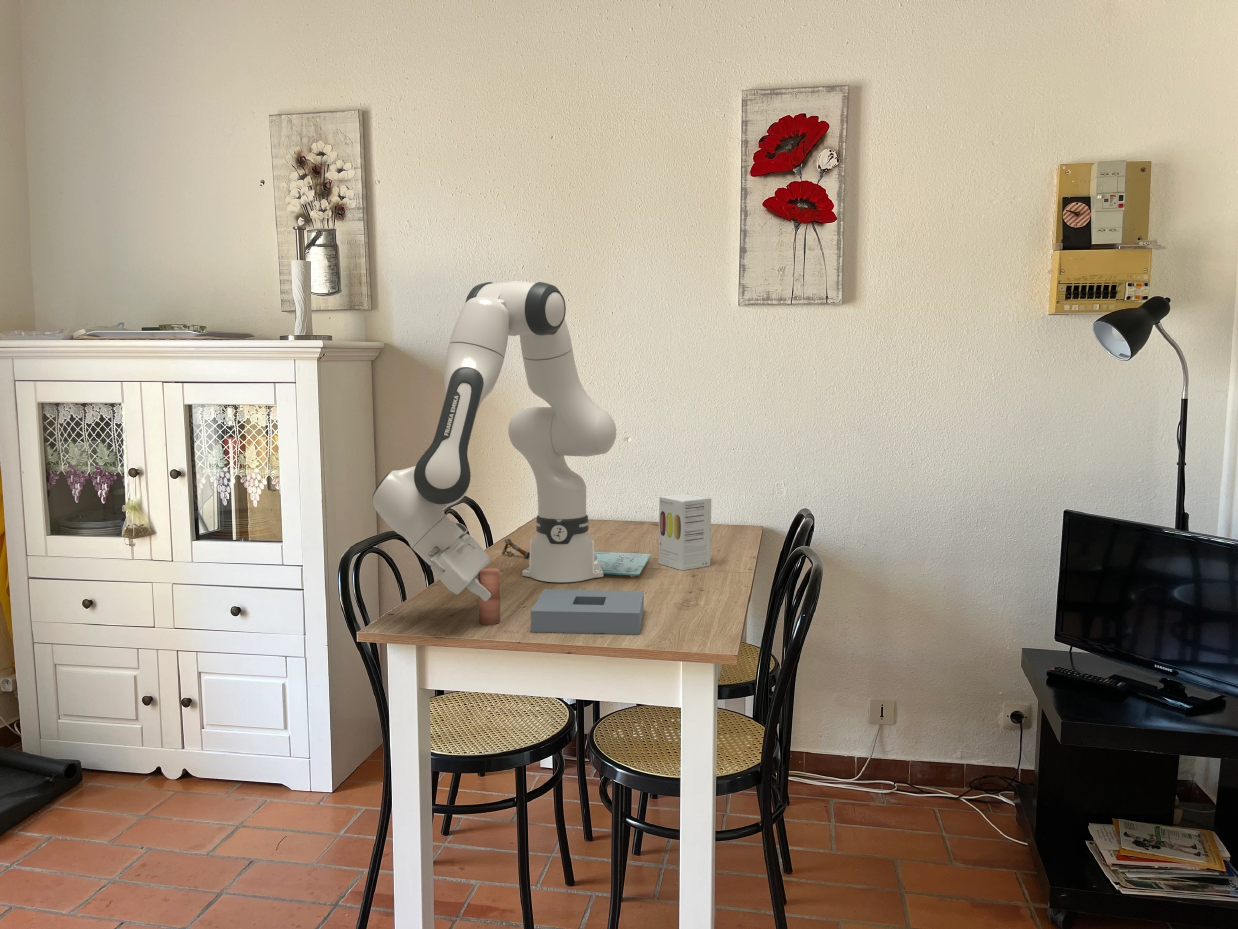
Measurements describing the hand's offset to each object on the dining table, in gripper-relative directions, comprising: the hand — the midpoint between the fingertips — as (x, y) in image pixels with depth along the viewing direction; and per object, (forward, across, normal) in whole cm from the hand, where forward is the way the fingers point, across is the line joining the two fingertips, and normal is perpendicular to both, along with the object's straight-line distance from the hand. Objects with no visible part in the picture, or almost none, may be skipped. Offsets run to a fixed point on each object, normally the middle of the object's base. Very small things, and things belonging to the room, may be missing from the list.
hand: (492, 594), depth 175 cm
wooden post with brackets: (0, +58, +9) cm, 59 cm away
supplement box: (+30, +52, -22) cm, 64 cm away
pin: (+3, 0, +4) cm, 5 cm away
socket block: (+17, +2, -9) cm, 19 cm away
